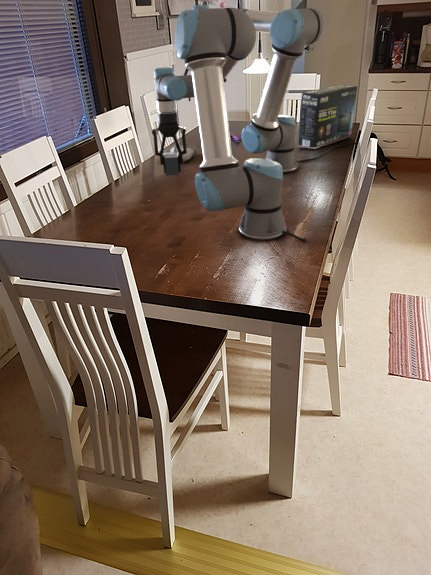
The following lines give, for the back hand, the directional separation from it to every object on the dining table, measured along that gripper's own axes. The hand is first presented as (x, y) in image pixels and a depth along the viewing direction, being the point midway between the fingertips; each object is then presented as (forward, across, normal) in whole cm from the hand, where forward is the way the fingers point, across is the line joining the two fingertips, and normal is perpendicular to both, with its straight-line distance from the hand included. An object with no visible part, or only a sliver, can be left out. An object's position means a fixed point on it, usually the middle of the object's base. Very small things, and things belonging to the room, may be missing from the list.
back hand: (204, 100), depth 208 cm
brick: (+22, +16, +35) cm, 45 cm away
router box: (+28, -64, -23) cm, 74 cm away
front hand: (+21, +16, +35) cm, 44 cm away
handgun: (+28, -15, -43) cm, 53 cm away
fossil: (+28, +14, -9) cm, 33 cm away
